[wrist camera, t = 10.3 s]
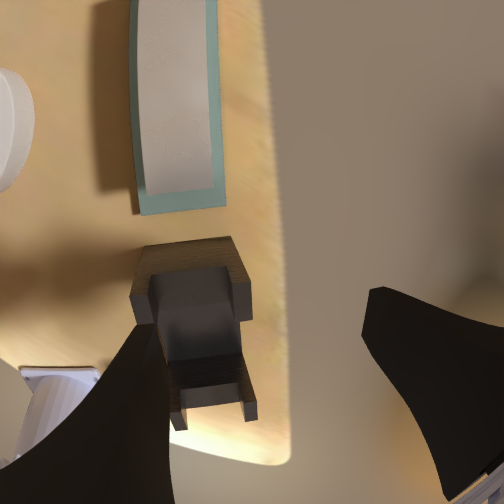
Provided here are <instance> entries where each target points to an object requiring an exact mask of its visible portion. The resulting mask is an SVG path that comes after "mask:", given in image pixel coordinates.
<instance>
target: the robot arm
mask: <svg viewBox="0 0 504 504" xmlns="http://www.w3.org/2000/svg"><path fill="white" fill-rule="evenodd" d="M361 336H362V338H363V340H364V341H365V344H366V345H367V348H368V349H369V351H370V353H371V355H372V357H373V358H374V359H375V361H376V362H377V364H378V365H379V366H380V368H381V369H382V371H383V372H384V373H385V375H386V376H387V377H388V379H389V380H390V381H391V383H392V384H393V385H394V387H395V388H396V389H397V391H398V392H399V394H400V395H401V396H402V398H403V399H404V401H405V402H406V404H407V405H408V407H409V408H410V410H411V412H412V414H413V416H414V418H415V420H416V421H417V423H418V425H419V427H420V429H421V431H422V434H423V436H424V438H425V440H426V442H427V444H428V447H429V449H430V452H431V454H432V457H433V460H434V463H435V465H436V469H437V472H438V475H439V479H440V482H441V486H442V491H443V494H444V496H445V497H446V499H447V500H448V501H451V500H452V499H454V498H455V497H457V496H458V495H459V494H461V493H462V492H463V491H465V490H466V489H467V488H468V487H470V486H471V485H473V484H474V483H475V482H476V481H478V480H479V479H480V478H481V477H482V476H484V475H485V474H486V473H487V475H488V477H486V478H485V479H484V480H483V481H482V482H480V483H479V484H478V485H477V486H475V487H474V488H473V489H472V490H470V491H469V492H468V493H467V494H465V495H464V496H463V497H461V498H460V499H458V500H457V501H456V502H454V503H453V504H481V503H483V502H484V501H485V500H486V499H487V498H488V497H489V498H488V504H504V327H498V326H493V325H489V324H485V323H482V322H478V321H475V320H471V319H468V318H465V317H462V316H459V315H456V314H454V313H451V312H448V311H445V310H443V309H441V308H438V307H436V306H433V305H431V304H428V303H426V302H424V301H421V300H419V299H416V298H414V297H412V296H409V295H407V294H404V293H402V292H399V291H396V290H394V289H391V288H387V287H378V288H374V289H370V291H369V297H368V303H367V308H366V313H365V319H364V324H363V329H362V334H361ZM20 373H21V375H22V376H23V378H24V380H25V381H26V383H27V385H28V386H29V388H30V389H31V391H32V392H33V397H32V399H31V402H30V405H29V407H28V410H27V413H26V416H25V419H24V422H23V425H22V428H21V431H20V434H19V438H18V441H17V444H16V448H15V452H14V455H13V458H12V460H11V461H10V462H9V461H8V460H6V459H5V458H1V460H0V504H175V501H174V495H173V489H172V483H171V475H170V466H169V465H170V464H169V431H170V384H169V371H168V367H167V364H166V361H165V357H164V354H163V350H162V347H161V343H160V339H159V336H158V332H157V328H156V324H155V323H151V324H141V325H136V326H135V327H134V329H133V330H132V332H131V333H130V335H129V336H128V338H127V339H126V341H125V342H124V344H123V345H122V347H121V348H120V350H119V351H118V353H117V354H116V356H115V357H114V359H113V360H112V362H111V363H110V365H109V366H108V368H107V369H106V370H105V372H104V373H103V375H102V376H101V375H100V372H99V371H98V370H97V369H95V368H22V369H21V371H20ZM96 378H97V379H96Z"/></svg>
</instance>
